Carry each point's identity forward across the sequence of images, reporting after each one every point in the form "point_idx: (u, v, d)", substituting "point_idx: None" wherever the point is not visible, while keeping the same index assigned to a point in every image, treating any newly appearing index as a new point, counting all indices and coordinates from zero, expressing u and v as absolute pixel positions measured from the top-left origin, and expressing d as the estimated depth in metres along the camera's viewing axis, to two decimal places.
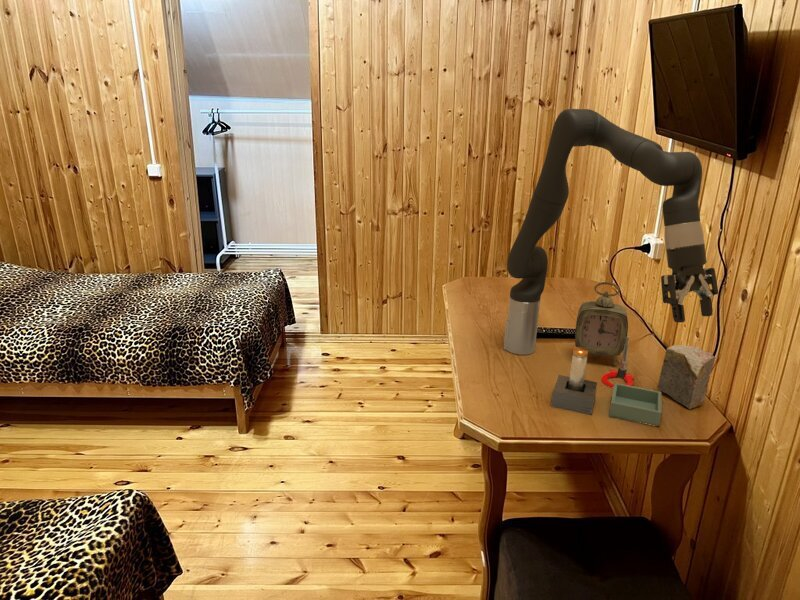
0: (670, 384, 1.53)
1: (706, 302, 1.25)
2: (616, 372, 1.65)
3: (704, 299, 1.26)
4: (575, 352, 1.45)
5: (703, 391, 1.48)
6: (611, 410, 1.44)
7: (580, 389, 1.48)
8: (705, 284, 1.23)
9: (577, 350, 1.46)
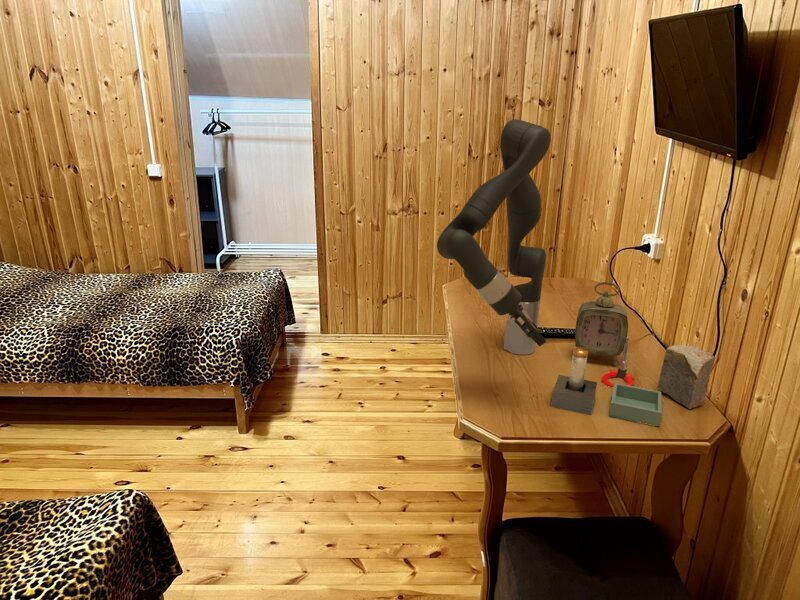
0: (670, 384, 1.53)
1: None
2: (616, 372, 1.65)
3: None
4: (575, 352, 1.45)
5: (703, 391, 1.48)
6: (611, 410, 1.44)
7: (580, 389, 1.48)
8: (518, 325, 1.41)
9: (577, 350, 1.46)
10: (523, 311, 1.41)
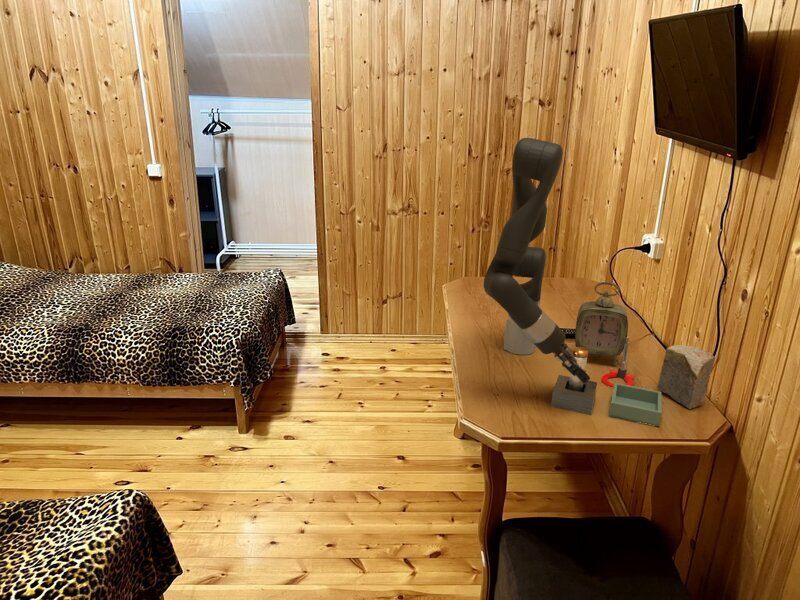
0: (670, 384, 1.53)
1: None
2: (616, 372, 1.65)
3: None
4: (575, 352, 1.45)
5: (703, 391, 1.48)
6: (611, 410, 1.44)
7: (580, 389, 1.48)
8: None
9: (577, 350, 1.46)
10: (568, 351, 1.44)
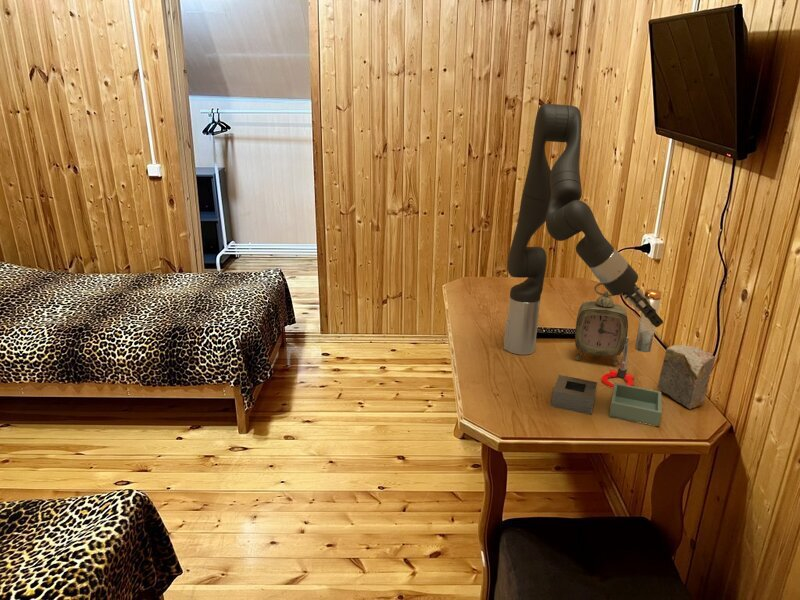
0: (670, 384, 1.53)
1: None
2: (616, 372, 1.65)
3: None
4: (648, 293, 1.36)
5: (703, 391, 1.48)
6: (611, 410, 1.44)
7: (651, 334, 1.38)
8: None
9: (650, 291, 1.36)
10: (640, 292, 1.34)
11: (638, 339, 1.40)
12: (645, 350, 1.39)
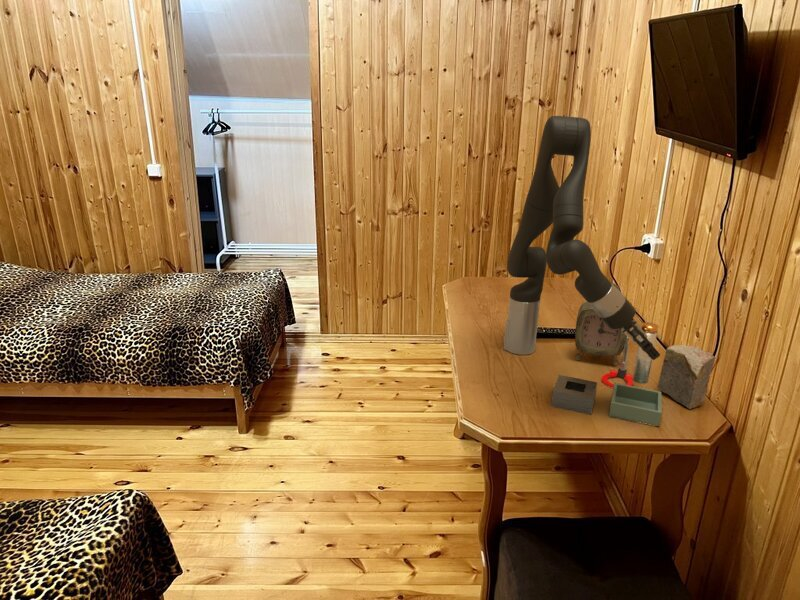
0: (670, 384, 1.53)
1: None
2: (616, 372, 1.65)
3: None
4: (645, 327, 1.39)
5: (703, 391, 1.48)
6: (611, 410, 1.44)
7: (649, 367, 1.41)
8: (631, 339, 1.39)
9: (647, 325, 1.39)
10: (638, 326, 1.38)
11: (636, 371, 1.43)
12: (642, 382, 1.42)
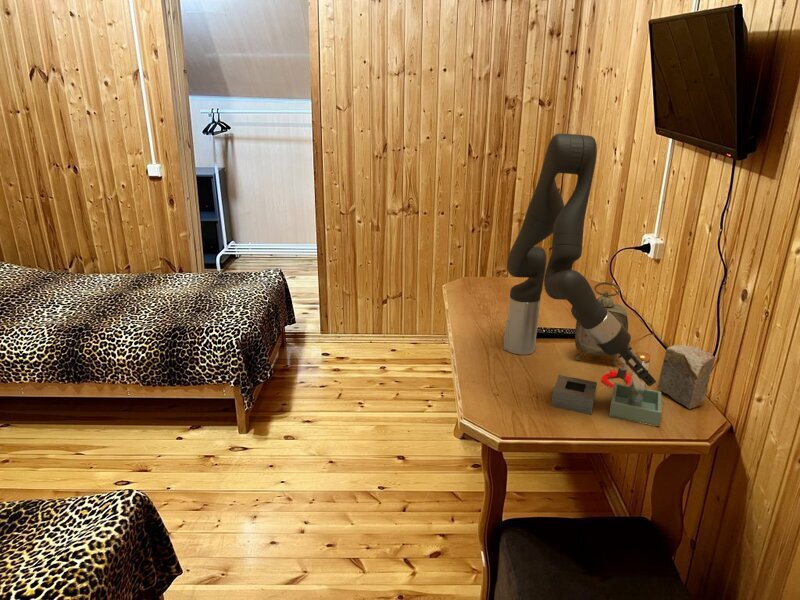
0: (670, 384, 1.53)
1: None
2: (616, 372, 1.65)
3: None
4: None
5: (703, 391, 1.48)
6: (611, 410, 1.44)
7: (642, 395, 1.44)
8: None
9: (639, 355, 1.42)
10: (632, 351, 1.40)
11: (629, 399, 1.46)
12: None
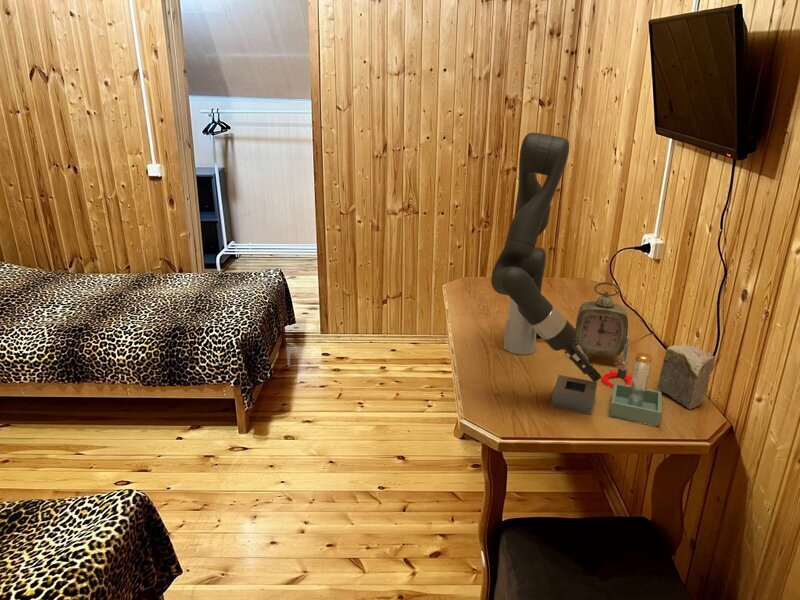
0: (670, 384, 1.53)
1: None
2: (616, 372, 1.65)
3: None
4: (638, 358, 1.41)
5: (703, 391, 1.48)
6: (611, 410, 1.44)
7: (642, 396, 1.44)
8: None
9: (641, 356, 1.42)
10: (578, 346, 1.40)
11: (630, 400, 1.46)
12: None
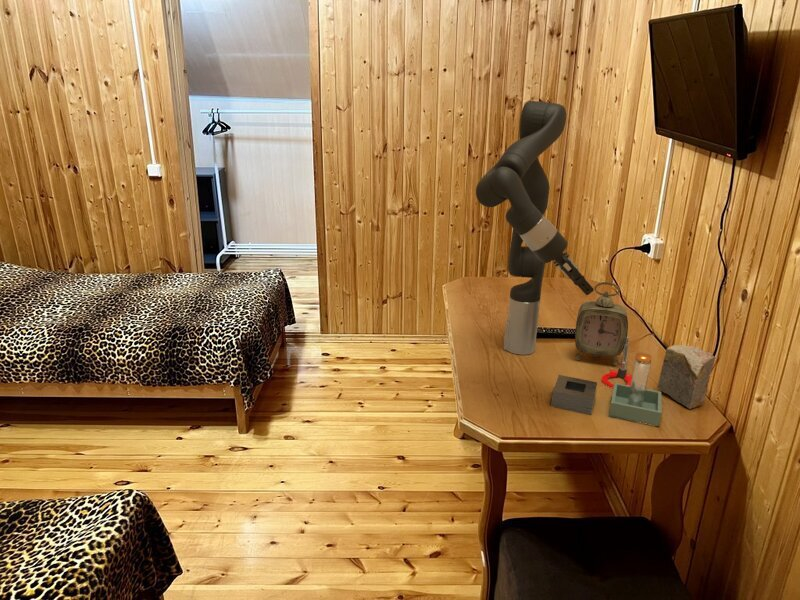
0: (670, 384, 1.53)
1: None
2: (616, 372, 1.65)
3: None
4: (638, 358, 1.41)
5: (703, 391, 1.48)
6: (611, 410, 1.44)
7: (642, 396, 1.44)
8: None
9: (640, 356, 1.42)
10: (569, 258, 1.34)
11: (630, 400, 1.46)
12: None
